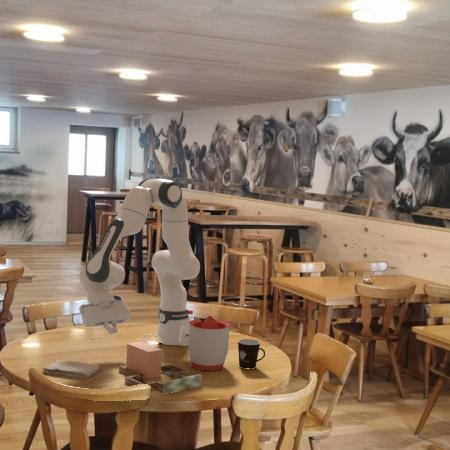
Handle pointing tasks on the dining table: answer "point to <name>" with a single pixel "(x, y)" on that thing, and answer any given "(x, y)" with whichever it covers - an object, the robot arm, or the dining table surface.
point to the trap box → (169, 386)
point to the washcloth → (71, 369)
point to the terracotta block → (144, 359)
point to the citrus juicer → (208, 343)
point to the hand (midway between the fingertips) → (113, 332)
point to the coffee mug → (249, 352)
